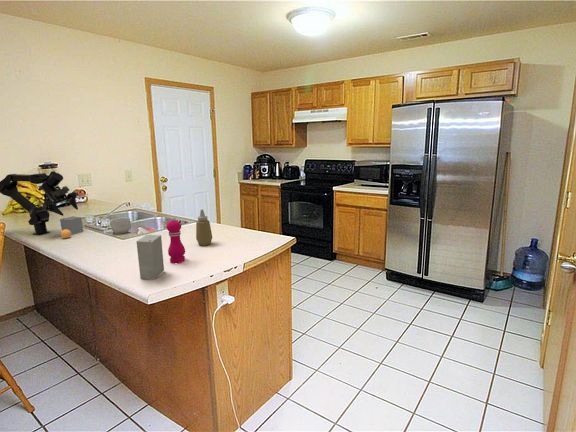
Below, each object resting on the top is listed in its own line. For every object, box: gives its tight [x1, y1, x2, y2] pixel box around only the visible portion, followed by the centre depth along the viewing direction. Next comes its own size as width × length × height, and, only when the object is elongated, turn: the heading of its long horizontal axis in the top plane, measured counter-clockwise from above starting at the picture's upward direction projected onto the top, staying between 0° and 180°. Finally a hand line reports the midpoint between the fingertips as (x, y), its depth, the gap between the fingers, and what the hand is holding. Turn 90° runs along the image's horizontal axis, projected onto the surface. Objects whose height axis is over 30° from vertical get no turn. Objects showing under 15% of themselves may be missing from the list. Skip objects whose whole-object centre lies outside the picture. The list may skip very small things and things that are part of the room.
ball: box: [60, 229, 72, 239], centre depth 190 cm, size 5×5×5 cm
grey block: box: [59, 215, 84, 236], centre depth 201 cm, size 8×8×9 cm
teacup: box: [109, 216, 132, 235], centre depth 200 cm, size 14×11×8 cm
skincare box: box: [136, 234, 165, 280], centre depth 133 cm, size 8×7×16 cm
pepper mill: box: [166, 216, 186, 265], centre depth 148 cm, size 7×7×20 cm
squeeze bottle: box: [195, 209, 213, 247], centre depth 171 cm, size 8×8×18 cm
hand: (70, 212), depth 195 cm, fingers open, 9 cm apart
